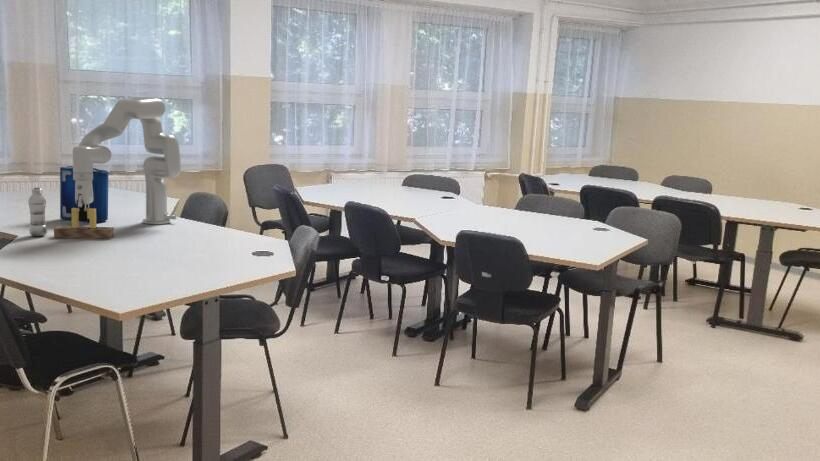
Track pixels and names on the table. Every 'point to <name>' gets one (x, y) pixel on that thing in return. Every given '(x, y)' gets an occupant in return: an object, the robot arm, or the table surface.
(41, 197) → the plastic bottle
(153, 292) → the table surface
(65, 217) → the book
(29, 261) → the table surface
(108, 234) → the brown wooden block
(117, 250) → the table surface
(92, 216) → the yellow notched flat block
